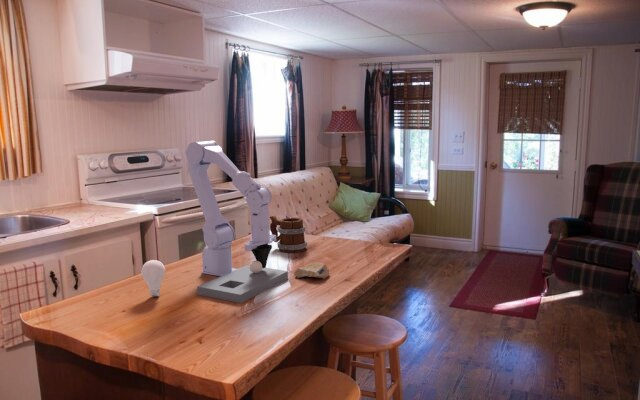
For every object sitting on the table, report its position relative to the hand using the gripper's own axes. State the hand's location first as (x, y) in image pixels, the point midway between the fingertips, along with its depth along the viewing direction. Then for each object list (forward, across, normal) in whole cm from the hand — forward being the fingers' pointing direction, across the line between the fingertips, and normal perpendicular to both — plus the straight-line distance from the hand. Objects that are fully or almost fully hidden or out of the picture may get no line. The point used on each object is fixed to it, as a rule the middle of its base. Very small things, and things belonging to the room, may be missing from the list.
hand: (262, 267), depth 163 cm
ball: (-1, -3, 0) cm, 3 cm away
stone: (+4, +8, -14) cm, 16 cm away
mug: (+4, +34, +12) cm, 36 cm away
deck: (+3, -9, 0) cm, 10 cm away
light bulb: (+4, -28, +18) cm, 34 cm away
